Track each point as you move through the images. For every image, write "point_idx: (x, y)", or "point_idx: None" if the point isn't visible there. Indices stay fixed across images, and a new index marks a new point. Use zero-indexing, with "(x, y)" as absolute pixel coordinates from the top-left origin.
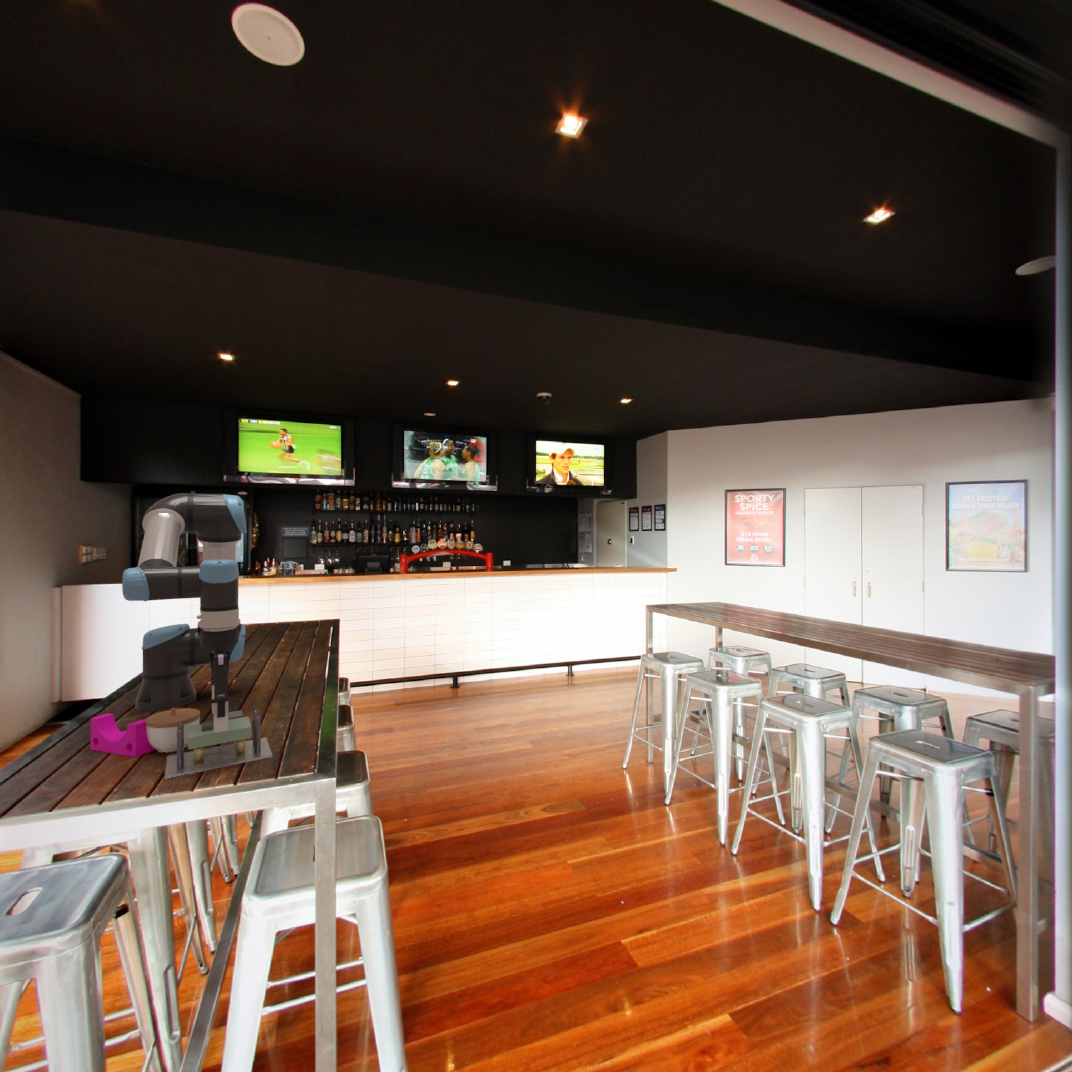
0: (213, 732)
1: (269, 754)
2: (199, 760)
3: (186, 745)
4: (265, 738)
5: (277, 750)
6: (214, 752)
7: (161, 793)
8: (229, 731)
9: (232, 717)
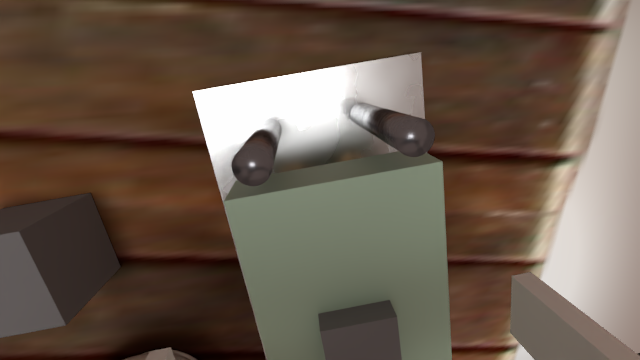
0: (437, 326)
1: (417, 63)
2: None
3: (181, 356)
4: (208, 93)
5: (327, 36)
6: None
7: (508, 327)
8: (443, 260)
9: (40, 277)
